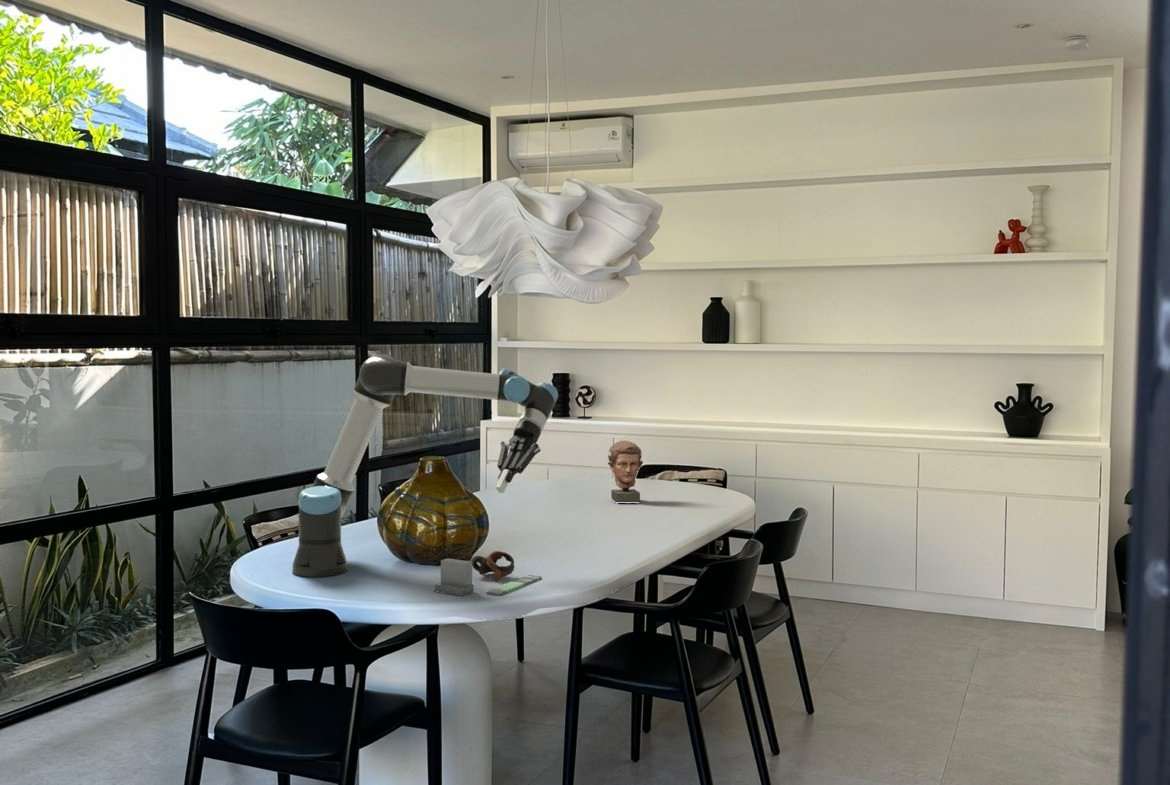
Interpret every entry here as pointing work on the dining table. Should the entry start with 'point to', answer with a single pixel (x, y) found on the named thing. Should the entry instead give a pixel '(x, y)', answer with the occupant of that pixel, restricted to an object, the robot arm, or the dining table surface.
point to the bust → (625, 470)
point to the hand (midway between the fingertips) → (499, 490)
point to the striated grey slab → (455, 577)
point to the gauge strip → (513, 585)
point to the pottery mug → (493, 565)
